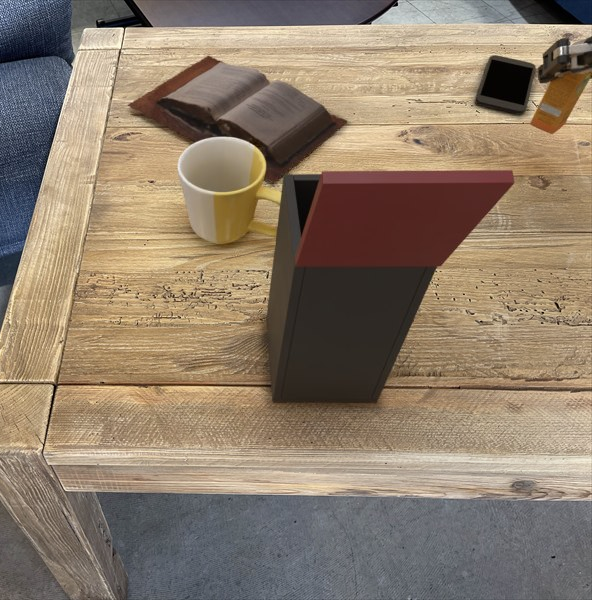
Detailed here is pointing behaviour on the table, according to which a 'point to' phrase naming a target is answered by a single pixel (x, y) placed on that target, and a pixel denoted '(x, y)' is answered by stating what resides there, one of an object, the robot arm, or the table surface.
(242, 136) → the book
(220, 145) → the mug
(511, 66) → the smartphone
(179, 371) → the table surface
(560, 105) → the supplement box
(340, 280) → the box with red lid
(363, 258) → the red lid
